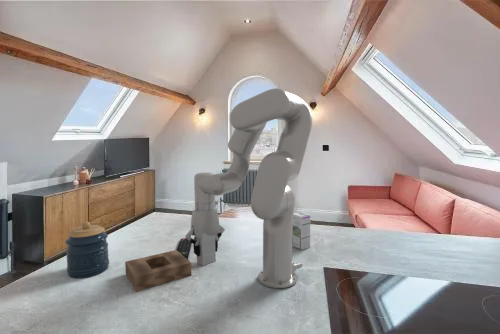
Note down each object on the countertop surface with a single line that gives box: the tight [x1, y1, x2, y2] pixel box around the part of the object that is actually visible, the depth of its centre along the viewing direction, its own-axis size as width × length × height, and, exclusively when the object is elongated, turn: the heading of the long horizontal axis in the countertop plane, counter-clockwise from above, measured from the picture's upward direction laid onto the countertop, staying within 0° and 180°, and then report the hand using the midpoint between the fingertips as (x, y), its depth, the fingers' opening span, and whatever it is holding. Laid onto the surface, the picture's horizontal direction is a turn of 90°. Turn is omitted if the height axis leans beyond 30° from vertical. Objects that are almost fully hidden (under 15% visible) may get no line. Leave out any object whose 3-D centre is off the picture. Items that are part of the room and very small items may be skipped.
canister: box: [64, 221, 110, 279], centre depth 99 cm, size 13×13×18 cm
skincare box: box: [196, 234, 217, 266], centre depth 106 cm, size 6×4×12 cm
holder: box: [124, 249, 192, 292], centre depth 96 cm, size 18×14×4 cm
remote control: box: [176, 237, 194, 260], centre depth 119 cm, size 5×24×1 cm, turn 7°
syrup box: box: [292, 211, 311, 251], centre depth 121 cm, size 6×6×14 cm
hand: (206, 252), depth 106 cm, fingers closed on skincare box, 6 cm apart
